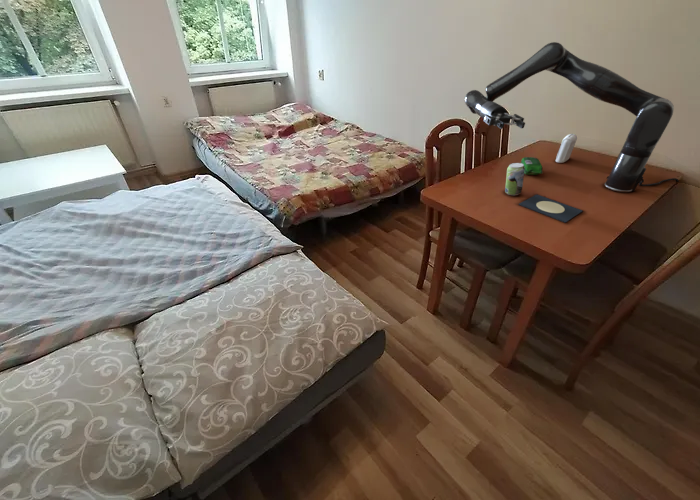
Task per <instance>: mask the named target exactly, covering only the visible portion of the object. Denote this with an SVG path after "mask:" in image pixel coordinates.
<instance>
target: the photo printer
mask: <svg viewBox="0 0 700 500" xmlns="http://www.w3.org/2000/svg"><path fill="white" fill-rule="evenodd" d="M577 140H578V135H577V134H575V133H569V134H566V136H565V137H564V138H562V141H561V143H560V147H559V149H558V151H557V153H556V157H555V162H556V163H559V164H562V163H565V162H567V161H569V159H570V158H571V156H572V153H573V150H574V147H575V145H576V142H577Z"/></svg>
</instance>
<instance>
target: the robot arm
mask: <svg viewBox="0 0 700 500" xmlns="http://www.w3.org/2000/svg"><path fill="white" fill-rule="evenodd" d="M543 71H547V72H550V73H554V74H555V75H558V76H560V77H563V78H564V79H566V80H568V81H569V82H571V83H572V85H574V86H575V87H576V88H578V89H580V90H581V91H582V92H584V93H586V94H587V95H588V96H590V97H592V98H594V99H597V100H598V101H601V102H603V103H606V104H609V105H613V106H616V107H619V108H623V109H624V110H626V111H627V112H629V113H630V114H632V115H634V116H635V119H634V121H633V124H632V125H631V128H630V130H629V132H628V134H627V137H626V138H625V140H624V143H623V145H622V148H621V150H620V151H619V154H618V155H617V158H616V160H615V162H614V164H613V166H612V168H611V170H610V172H609V174H608V176H607V177H606V179H605V180H606V181H605V182H604V184H603V186H604V187H605V188H606V189H608V190H610V191H613V192H617V193H623V194H625V193H631V192H635V191H636V189H637V188H638V186H640V187H651V186H658V185H660V184H662V183H664V182H669V181H676V182H677V183H679V182H680V180H679V179H678V178H675V177H673V178H667V179H663V180H660V181H658V182H653V183H648V184H643V183H645V182H644V181H645V180H644V174H645V172H646V170H647V168H646V165H647V163H648V161H649V160H650V157H652V156H651V155H652V154H653V152H654V150H655V149H656V146H657V145H658V143H659V142H660V140H661V138H662V136H663V134H664V133H665V131H666V128H667V127H668V125H669V123H670V121H671V119H672V117H673V114H674V110H675V107H674V103H673V102H672V101H671V100H669V99H667V98H665V97H662V96H659V95H657V94H654V93H652V92H649V91H646V90H645V89H642V88H640V87H639V86H637V85H636V84H634V83H632V82H631V81H630V80H628V79H627V78H625V77H623V76H621V75H620V74H618V73H616V72H615V71H613V70H611V69H609V68H607V67H604V66H602V65H599V64H597V63H594V62H591V61H587V60H585V59H582V58H580V57H578V56H577V55H575V54H573V53H572V52H570V50H568V49H567V48H565V46H564V45H562V43H560V42H557V41H551V42H549V43H547V44H545V45H544V46H542V47H541V48H540V49H539V50H538V51H536V52H535V53H534V54H532V56H530V57H529V58H527V60H525V61H524V62H523V63H521V64H519V65H518V66H517V67H515V68H513V69H512V70H510V71H508V72H507V73H505V74H503V75H502V76H500V77H498V78H497V79H496V80H494V81H492V82H490V83H489V84H487V85H486V87H485V94H486V96H485V95H484V94H483V93H482V92H480V90H477V89H472V90H469V91H468V92H466V94H465V96H464V99H463V101H464V105H466V107H467V108H468V109H469V111H470V112H471V113H472V114H475V115H477V116H479V117H480V118H482V120H483V122H484V123H485V124H487V125H488V126H489V127H491V126H494V127H497V128H499V129H500V130H503V129H504V127H505V125H508V126H516V127H518V128H519V129H524V128H525V126H526V122H525V117H523V116H520V115H519V114H517V113H513V114H510V113H508V112H507V109H506V108H505V107H504V106H503V105H501V104H499V103H497V102H495V100H497V99H499V98H501V97H502V96H504V95H505V94H507V93H509V92H510V91H512V90H513V89H515V88H516V87H517V86H519V85H520V84H521V83H523V82H524V81H526V80H527V79H529V78H531V77H533V76H535V75H536V74H539V73H541V72H543Z"/></svg>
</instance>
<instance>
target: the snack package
mask: <svg viewBox="0 0 700 500" xmlns="http://www.w3.org/2000/svg"><path fill="white" fill-rule="evenodd" d="M520 163H522V164H523V165H524V167H525V172H524V175H526V176H527V175H529V176H531V175H532V176H537V175H542V174H543V173H544V171H543V165H542V163H541V161H540V160H539V158H538V157H534V156H530V157H529V156H524V157H523V158H521V160H520Z"/></svg>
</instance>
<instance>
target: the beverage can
mask: <svg viewBox="0 0 700 500" xmlns="http://www.w3.org/2000/svg"><path fill="white" fill-rule="evenodd" d="M524 172H525V167H524V165H523V164H522V163H521V162H513V163H509V165H508V167H507V168H506V177H505V187H504V192H505V194H507V196H518V195H520V194H522V193H523V186H524V179H525V173H524Z"/></svg>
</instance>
